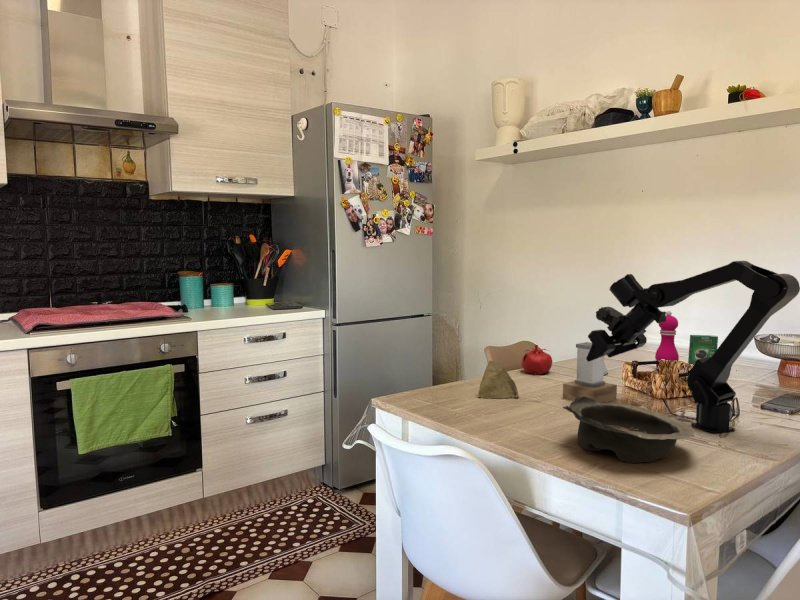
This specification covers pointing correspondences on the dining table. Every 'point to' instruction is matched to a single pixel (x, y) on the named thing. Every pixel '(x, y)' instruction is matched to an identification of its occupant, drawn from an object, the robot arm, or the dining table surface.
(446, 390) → the dining table surface
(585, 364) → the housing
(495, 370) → the rock
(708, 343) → the coffee box
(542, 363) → the pomegranate
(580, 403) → the stone bowl
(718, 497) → the dining table surface
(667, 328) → the pepper mill
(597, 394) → the stand
